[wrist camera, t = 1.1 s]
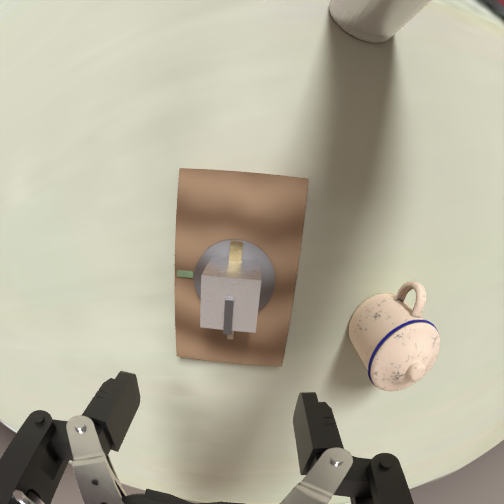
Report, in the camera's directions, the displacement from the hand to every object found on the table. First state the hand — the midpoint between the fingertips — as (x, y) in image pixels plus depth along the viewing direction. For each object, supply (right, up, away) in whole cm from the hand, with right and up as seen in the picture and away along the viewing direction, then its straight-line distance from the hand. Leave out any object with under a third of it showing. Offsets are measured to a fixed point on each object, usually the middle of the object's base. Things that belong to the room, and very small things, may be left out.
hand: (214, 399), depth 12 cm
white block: (0, +4, +16) cm, 17 cm away
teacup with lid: (+19, -1, +21) cm, 28 cm away
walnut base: (0, +5, +19) cm, 20 cm away
